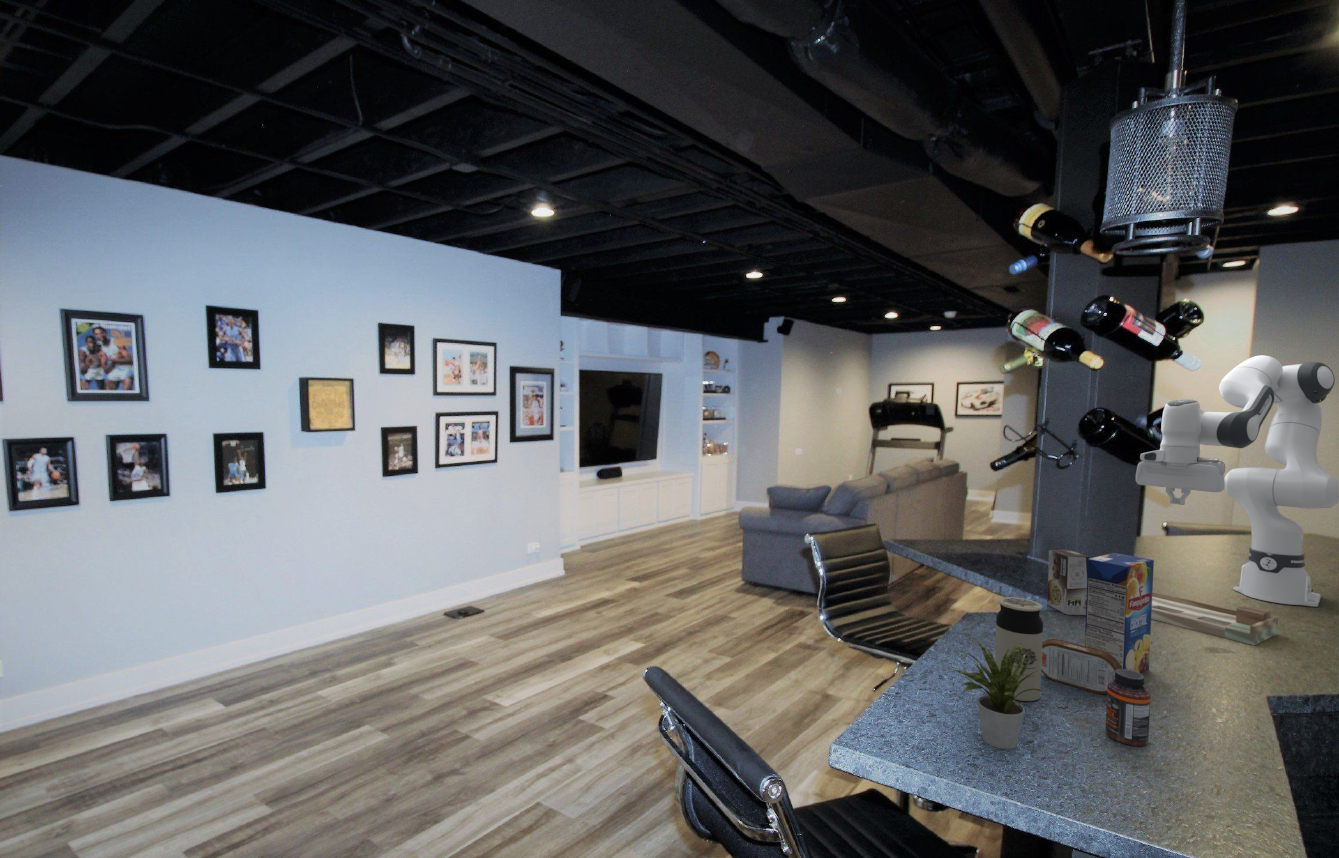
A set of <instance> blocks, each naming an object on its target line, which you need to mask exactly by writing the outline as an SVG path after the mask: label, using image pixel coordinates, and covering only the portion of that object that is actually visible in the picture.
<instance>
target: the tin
mask: <svg viewBox="0 0 1339 858" xmlns="http://www.w3.org/2000/svg"><path fill="white" fill-rule="evenodd" d="M1117 669H1122V666H1121V665H1120V663H1119V662H1118V660H1117V659H1116V658H1114V657H1113V656H1112V655H1111V654H1109V653H1107V652H1105V651H1103V650H1099V649H1095V648H1091V647H1087V646H1085V645H1083V644H1078V643H1075V642H1071V641H1067V640H1064V639H1059V638H1049V639H1046V640H1044V641H1042V666H1041V674H1042V675H1044V676H1045V677H1047V678H1048V679H1050V680H1052V681H1054V682H1057V683H1061V684H1064V685H1068V686H1071V687H1074V688H1078V689H1081V690H1084V691H1087V692H1092V693H1094V694H1099V695H1107V687H1108V683H1109V682H1110V681H1112V680H1114V679H1115V677H1114V676H1115V670H1117Z"/></svg>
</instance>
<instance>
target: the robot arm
mask: <svg viewBox="0 0 1339 858" xmlns="http://www.w3.org/2000/svg"><path fill="white" fill-rule="evenodd" d="M1335 382H1336V381H1335V374H1334V372H1333V370H1332V369H1331V368H1330V367H1329V366H1328V365H1327V364H1325V363H1323V362H1317V361H1310V362H1309V361H1307V362H1303V363H1297V364H1289V365H1288V364H1287V365H1282V363H1281V362H1280V361H1279V360H1278V359H1276V358H1275V357H1273V356H1271V355H1261V354H1260V355H1255V356H1251V357H1249V358H1248V359H1245V360H1244V361H1243V362H1241V363H1239V364H1238V365H1237V366H1235V367H1234V368H1233V369H1231V370H1230V371H1229V372H1228V373H1227V374H1225V376H1224V377H1223V378H1222V379H1221V381H1220V383H1219V386H1218V387H1219V388H1218V390H1219V393H1220V396H1221V398H1222V399H1223V400H1224V401H1225V402H1226V403H1227V404H1229V405H1231V406H1233V407H1235V408H1239V409H1242V410H1239V411H1228V412H1227V411H1205V410H1203V409H1201V407H1200V406H1201V405H1200V402H1199V401H1198V400H1194V399H1179V400H1178V399H1175V400H1171V401H1169V402H1166V403H1165V405H1164V408H1163V411H1162V418H1161V428H1160V431H1161V434H1162V438H1161V442H1160V448H1159V449H1156V450H1152V451H1147V452H1143V453H1140V456H1139V459H1140V462H1139V463H1138V464H1137V467H1136V472H1135V482H1136V484H1138V485H1139V486H1149V487H1158V488H1165V492H1166V494H1167V496H1168V497H1169V499H1170V500H1169V504H1171V505H1177V506H1178V505H1179V506H1185V504H1186V499H1187V497H1188V496H1189V495H1190V494H1191V491H1197V492H1207V493H1208V492H1209V493H1222V492H1223V491H1224V492H1225V493H1226V494H1227V496H1228V497H1229V498H1230V499H1232V500H1234V501H1235V502H1236V503H1237V504H1239V506H1240V507H1241V508H1242V509H1243V510H1244V512H1245V513H1246V515H1247V517H1248V520H1249V524H1250V529H1251V530H1250V531H1251V532H1250V535H1251V543H1250V545H1251V547H1250V548H1249V549H1248V562H1246V563H1244V564H1243V565H1242V566H1241V572H1240V579H1239V585H1236V586H1233V589H1232V590H1233V591H1236V592H1239V593H1241V594H1242V595H1245V596H1247V597H1249V598H1252V599H1256V600H1260V601H1266V602H1270V603H1277V604H1283V605H1293V606H1305V607H1319V604H1320V601H1321V593H1318V592H1313V591H1314V589H1313V588H1311V587H1312V586H1311V585H1312V582H1311V581H1312V578H1311V576H1310V575H1309V572H1308V571H1307V570H1306V569H1305V566H1306V564H1305V562H1306V553H1303V547H1304V530H1303V528H1302V526H1301V525H1300V524H1299V523H1297V522H1296V521H1294V520H1293V519H1291V518H1288V517H1286V516H1284V515H1283V514H1282V513H1281V512H1280V511H1279V509H1278V506H1279V507H1288V508H1298V509H1307V510H1309V509H1312V510H1313V509H1315V510H1316V509H1330V508H1332V507H1334V506H1335V505H1337V504H1338V503H1339V480H1338V479H1337V478H1336V477H1335V476H1334V475H1333V474H1330V473H1328V472H1327V471H1326V470H1324V468H1323V467H1322V466H1321V465H1320V463H1319V461H1318V458H1317V449H1318V444H1319V443H1318V442H1319V439H1320V435H1321V430H1322V422H1323V421H1322V419H1323V417H1322V415H1323V414H1322V408H1321V406H1320V405H1319V404H1320V403H1322V402H1323V401H1325V400H1326V398H1327V396H1328V395H1329V394H1330V393H1331V391H1332V390H1333V387H1334V385H1335ZM1274 404H1276V405H1277V410H1276V412H1275V413H1274V416H1273V417H1272V420H1271V422H1270V424H1269V429H1268V432H1267V437H1266V440H1265V443H1264V452H1265V454H1266V455H1267V456H1268V457H1269V458H1270V459H1272V460H1273V461H1275V462H1277V463H1279V464H1282V465H1284V466H1285V467H1284V468H1268V467H1257V466H1256V467H1255V466H1249V467H1248V466H1247V467H1237V468H1232V469H1230V470H1229V471H1228V472H1227V473H1226V475H1224V474H1225V472H1226V464H1225V462H1224V461H1222V460H1220V459H1218V458H1207V457H1201V456H1200V455H1201V445H1203V446H1215V447H1216V446H1217V447H1218V446H1219V447H1226V448H1235V449H1244V448H1246V447H1248V446H1250V445H1251V444H1253V443H1254V442H1255V441H1256V440H1257V438H1258V437H1259V433H1260V429H1261V427H1262V425H1263V423H1264V421H1265V419H1266V418H1267V416H1268V414H1269V413H1270V412H1271V409H1272V408H1273V405H1274ZM1176 489H1178V490H1180V493H1181V494H1182V495H1181V496H1180V497H1176V495H1175V493H1174V492H1175V491H1176Z"/></svg>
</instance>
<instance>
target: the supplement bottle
mask: <svg viewBox="0 0 1339 858" xmlns="http://www.w3.org/2000/svg"><path fill="white" fill-rule="evenodd" d="M1114 677H1115V679H1114V680H1112V681H1110V682H1109V683H1108V687H1107V694H1106V710H1105V732H1106V734H1107V735H1108V736H1109V737H1110V738H1111V739H1113V740H1115V741H1117V742H1119V743H1122V744H1124V745H1128V746H1133V747H1143V746H1146V745H1147V744H1149V743H1148V742H1149V735H1150V717H1151V716H1150V715H1151V714H1150V712H1151V693H1150V691H1149V689H1148V688H1146V686H1144V685H1145V676H1144V675H1143V673H1142V674H1140V673H1138V672H1135V671H1132V670H1128V669H1117V670H1115V676H1114Z"/></svg>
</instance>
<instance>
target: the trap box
mask: <svg viewBox="0 0 1339 858" xmlns="http://www.w3.org/2000/svg"><path fill="white" fill-rule="evenodd" d="M1236 610H1237V609H1231V608H1227V607H1222V606H1217V605H1213V604H1209V603H1205V602H1200V601H1195V600H1192V599H1186V598H1182V597H1178V596H1173V595H1169V594H1166V593H1161V592H1156V591H1152V613H1151V620H1155V621H1158V622H1163V623H1166V624H1169V625H1174V626H1178V627H1181V628H1186V629H1189V630H1193V631H1197V632H1201V633H1205V634H1209V635H1212V636H1216V637H1220V638H1224V639H1228V640H1232V641H1236V642H1240V643H1243V644H1247V645H1251V646H1255V645H1258V644H1259V643H1262V642H1264V641H1266V640H1268V639H1271V638H1272V637H1274V636H1277V635H1278V628H1279V623H1278V622H1279V616H1277V615H1276V616H1275V615H1273V616H1270V618H1268V619H1265V620H1263V621H1261V622H1258V623H1256V624H1253V625H1251V626H1250V625H1245V624H1241V623H1237V622H1236Z"/></svg>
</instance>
